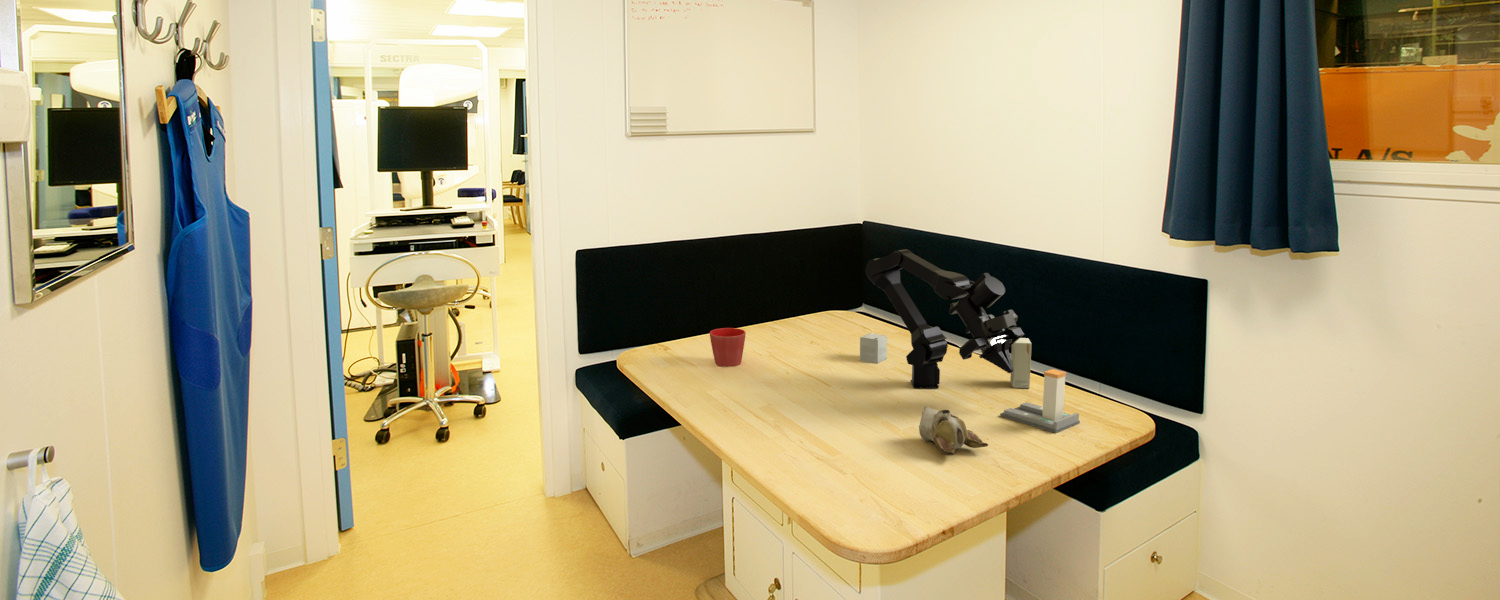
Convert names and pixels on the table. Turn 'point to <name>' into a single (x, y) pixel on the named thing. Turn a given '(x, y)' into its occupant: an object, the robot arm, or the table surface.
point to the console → (1040, 418)
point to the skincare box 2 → (1021, 363)
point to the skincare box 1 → (873, 348)
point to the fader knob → (1053, 394)
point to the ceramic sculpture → (947, 431)
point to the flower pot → (727, 346)
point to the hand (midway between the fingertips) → (1011, 372)
